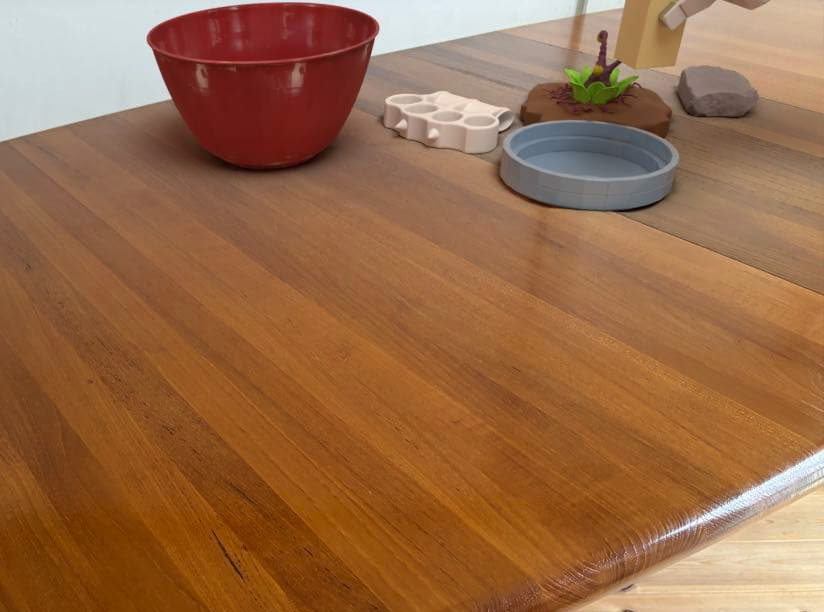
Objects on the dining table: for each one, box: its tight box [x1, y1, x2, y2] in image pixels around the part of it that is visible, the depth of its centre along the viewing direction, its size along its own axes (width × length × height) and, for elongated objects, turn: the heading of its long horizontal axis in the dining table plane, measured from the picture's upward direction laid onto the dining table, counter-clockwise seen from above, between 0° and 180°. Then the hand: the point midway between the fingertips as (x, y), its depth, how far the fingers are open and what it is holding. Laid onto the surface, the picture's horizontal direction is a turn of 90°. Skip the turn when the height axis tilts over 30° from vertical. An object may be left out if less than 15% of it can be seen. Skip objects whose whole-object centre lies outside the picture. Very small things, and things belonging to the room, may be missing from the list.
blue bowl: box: [499, 120, 681, 212], centre depth 97 cm, size 20×20×4 cm
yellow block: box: [613, 0, 688, 70], centre depth 84 cm, size 4×4×7 cm
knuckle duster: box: [383, 90, 515, 155], centre depth 112 cm, size 3×18×15 cm
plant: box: [519, 29, 673, 138], centre depth 112 cm, size 20×20×11 cm
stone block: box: [676, 64, 760, 118], centre depth 118 cm, size 12×5×10 cm
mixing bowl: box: [146, 1, 381, 170], centre depth 105 cm, size 28×28×16 cm
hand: (648, 17), depth 84 cm, fingers closed on yellow block, 4 cm apart
